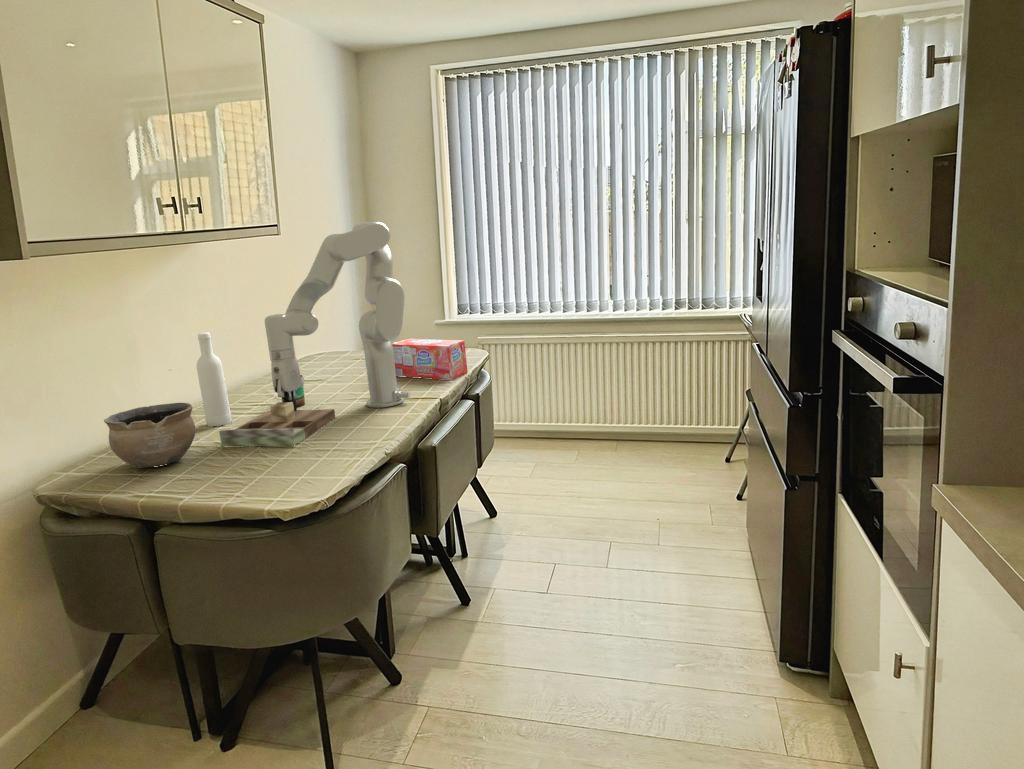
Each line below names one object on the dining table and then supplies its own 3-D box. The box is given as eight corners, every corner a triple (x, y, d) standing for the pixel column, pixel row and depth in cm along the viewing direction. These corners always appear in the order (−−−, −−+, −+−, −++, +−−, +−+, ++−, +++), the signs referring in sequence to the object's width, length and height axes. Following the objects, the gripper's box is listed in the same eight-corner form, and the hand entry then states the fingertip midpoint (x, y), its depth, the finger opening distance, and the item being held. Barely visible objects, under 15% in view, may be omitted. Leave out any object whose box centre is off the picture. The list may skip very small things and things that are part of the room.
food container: (298, 410, 255) (294, 381, 253) (281, 410, 257) (277, 382, 254) (314, 400, 267) (310, 373, 265) (298, 401, 268) (294, 373, 266)
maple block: (295, 417, 234) (292, 401, 233) (287, 422, 230) (284, 406, 228) (280, 417, 235) (278, 402, 234) (272, 422, 231) (270, 406, 230)
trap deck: (335, 418, 241) (333, 403, 240) (294, 446, 215) (291, 429, 214) (270, 419, 246) (267, 404, 245) (222, 447, 220) (219, 430, 218)
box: (469, 373, 292) (465, 338, 289) (450, 381, 281) (447, 344, 278) (413, 370, 305) (409, 337, 302) (393, 378, 294) (389, 343, 291)
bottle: (207, 422, 249) (190, 333, 242) (232, 418, 252) (216, 330, 245) (206, 428, 242) (189, 336, 235) (232, 424, 244) (216, 333, 237)
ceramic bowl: (111, 483, 196) (99, 428, 192) (117, 460, 215) (106, 410, 212) (202, 465, 204) (192, 412, 201) (200, 445, 224) (191, 396, 220)
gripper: (281, 359, 225) (290, 418, 229) (304, 349, 239) (312, 405, 243) (258, 360, 226) (268, 418, 231) (283, 350, 241) (291, 405, 245)
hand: (290, 411), depth 237 cm, fingers closed
